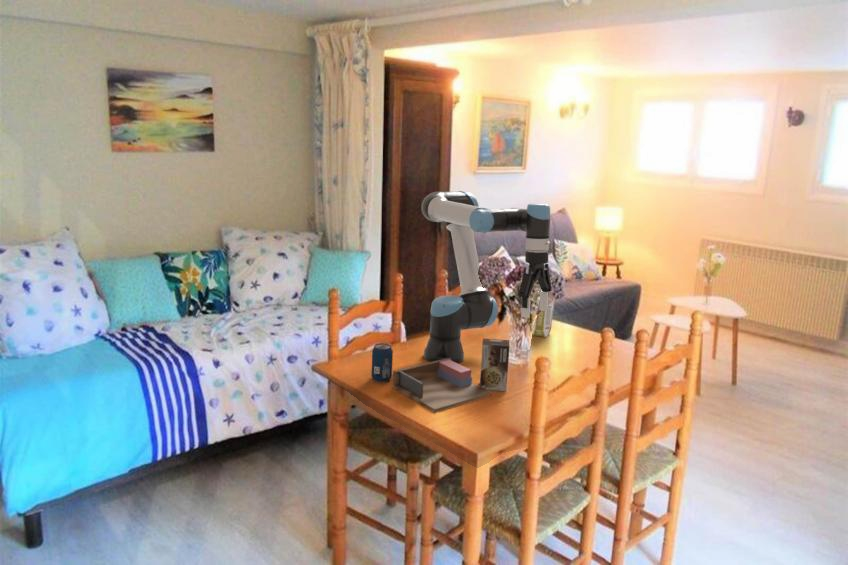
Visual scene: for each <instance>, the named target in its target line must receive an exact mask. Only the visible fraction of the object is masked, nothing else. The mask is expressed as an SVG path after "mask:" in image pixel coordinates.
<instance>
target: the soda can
mask: <svg viewBox="0 0 848 565" xmlns="http://www.w3.org/2000/svg"><path fill="white" fill-rule="evenodd" d="M371 352H372V354H371V377H372V380H373V381H374V382H377V383H387V382H389V381H390V380H391V379H392V378H393V377H392V376H393V355H394V354H393V353H394V352H393V348H392V345H391V344H389V343H385V342H384V343H383V342H382V343H381V342H380V343H376V344H374V346H373V349H372V350H371Z"/></svg>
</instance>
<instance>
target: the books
mask: <svg viewBox="0 0 848 565" xmlns="http://www.w3.org/2000/svg"><path fill="white" fill-rule="evenodd" d="M437 376H439V377H441V378H443V379H445V380H447V381H449V382H451V383H453V384H455V385H457V386H459V387H464V386H468V385H471V384H472V383H473V377H472V369H470V368H467V367H466V366H464V365H461V364H460V363H455V362H453V361H451V360H446V361H442V362H439V369H438V375H437Z"/></svg>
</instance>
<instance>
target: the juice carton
mask: <svg viewBox="0 0 848 565" xmlns="http://www.w3.org/2000/svg"><path fill="white" fill-rule="evenodd" d="M554 308H555V299H554V300H553V301H552V302H551V303H550V304H549V305H548V309H547V311H541V312H540V313H539V314H538V316H537V318H536V319H535V322H534V325H533V335H532V336H536V337H543V338H547V337H548V335H549V334H550V332H551V330H552V328H553V326H552V324H553V318H554V317H553V316H554Z"/></svg>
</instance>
